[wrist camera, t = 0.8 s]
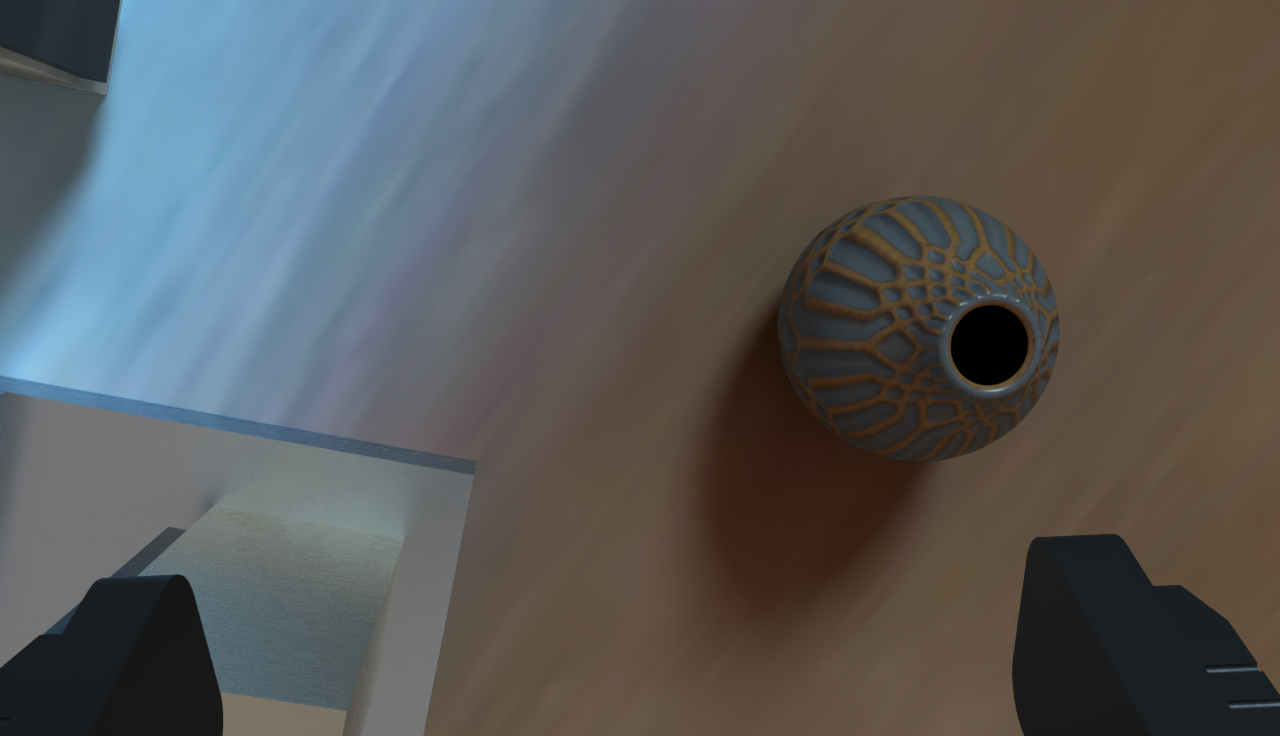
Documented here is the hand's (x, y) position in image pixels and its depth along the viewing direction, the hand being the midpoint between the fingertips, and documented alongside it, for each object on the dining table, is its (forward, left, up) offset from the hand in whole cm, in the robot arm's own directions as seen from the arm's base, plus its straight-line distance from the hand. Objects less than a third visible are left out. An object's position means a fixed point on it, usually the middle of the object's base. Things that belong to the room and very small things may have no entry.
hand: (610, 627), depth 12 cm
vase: (+3, +9, -23) cm, 25 cm away
